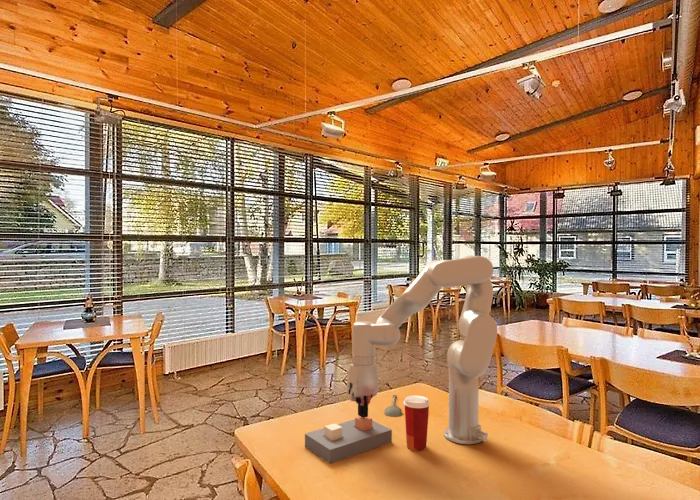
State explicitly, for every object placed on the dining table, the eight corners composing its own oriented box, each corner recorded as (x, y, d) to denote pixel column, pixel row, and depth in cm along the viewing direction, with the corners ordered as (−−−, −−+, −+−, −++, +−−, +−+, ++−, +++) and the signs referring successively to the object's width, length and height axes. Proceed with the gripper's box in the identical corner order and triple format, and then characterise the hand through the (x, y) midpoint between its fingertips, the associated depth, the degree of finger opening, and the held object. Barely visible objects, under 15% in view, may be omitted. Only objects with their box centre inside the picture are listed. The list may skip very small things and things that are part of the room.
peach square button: (372, 431, 143) (372, 418, 143) (362, 434, 140) (362, 421, 140) (364, 427, 146) (364, 414, 146) (355, 430, 144) (355, 417, 144)
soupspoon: (383, 419, 163) (401, 421, 162) (384, 410, 163) (401, 412, 162) (387, 397, 185) (403, 399, 184) (387, 390, 185) (403, 391, 184)
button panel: (391, 442, 141) (391, 429, 141) (330, 463, 127) (330, 449, 127) (364, 428, 152) (364, 416, 152) (304, 446, 138) (304, 433, 138)
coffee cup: (432, 444, 140) (432, 397, 140) (425, 454, 132) (426, 405, 132) (407, 439, 143) (407, 393, 143) (399, 449, 136) (399, 401, 136)
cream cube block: (342, 440, 136) (342, 427, 136) (331, 444, 133) (331, 430, 133) (334, 436, 139) (334, 423, 139) (324, 439, 136) (324, 426, 136)
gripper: (373, 354, 151) (373, 408, 151) (338, 360, 142) (337, 417, 142) (388, 359, 145) (387, 414, 145) (352, 365, 136) (351, 425, 136)
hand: (362, 416), depth 143 cm, fingers closed
